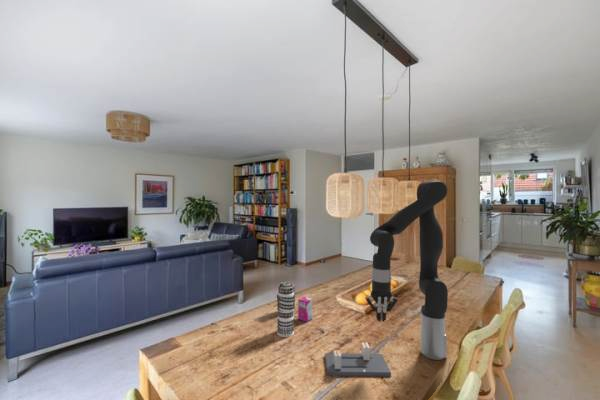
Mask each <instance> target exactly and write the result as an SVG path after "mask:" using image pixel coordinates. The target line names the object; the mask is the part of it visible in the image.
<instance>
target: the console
mask: <svg viewBox="0 0 600 400" xmlns="http://www.w3.org/2000/svg"><path fill="white" fill-rule="evenodd" d="M324 359H325V365H326V371H327V372H326V373H327V376H331V377H332V376H335V377H337V376H338V377H340V376H342V377H343V376H344V377H347V376H348V377H392V372H391V370H390V367H389V365H388V363H387V362H386V360H385V358H384V355H383V354H382V353H370V360H364V359H363V357H362V353H341V369H335V367H334V352H333V353H327V352H325V353H324Z"/></svg>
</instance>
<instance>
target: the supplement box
mask: <svg viewBox="0 0 600 400" xmlns="http://www.w3.org/2000/svg"><path fill="white" fill-rule="evenodd" d="M297 303H298V304H297V305H298V306H297V310H298V311H297V312H298V318H297V319H298V321H300V322H301V321H302V322H303V321H304V322H303V323H306V324H307V323H308V322H310V321H312V320H313V298H312V297H311V298H310V297H307V296H303V297H301V298H299V299H298V300H297Z"/></svg>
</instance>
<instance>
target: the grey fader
mask: <svg viewBox="0 0 600 400" xmlns="http://www.w3.org/2000/svg"><path fill="white" fill-rule="evenodd" d="M333 353H334V367H335V369H341V354H342V353H341V350H339V349H334V350H333Z"/></svg>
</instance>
